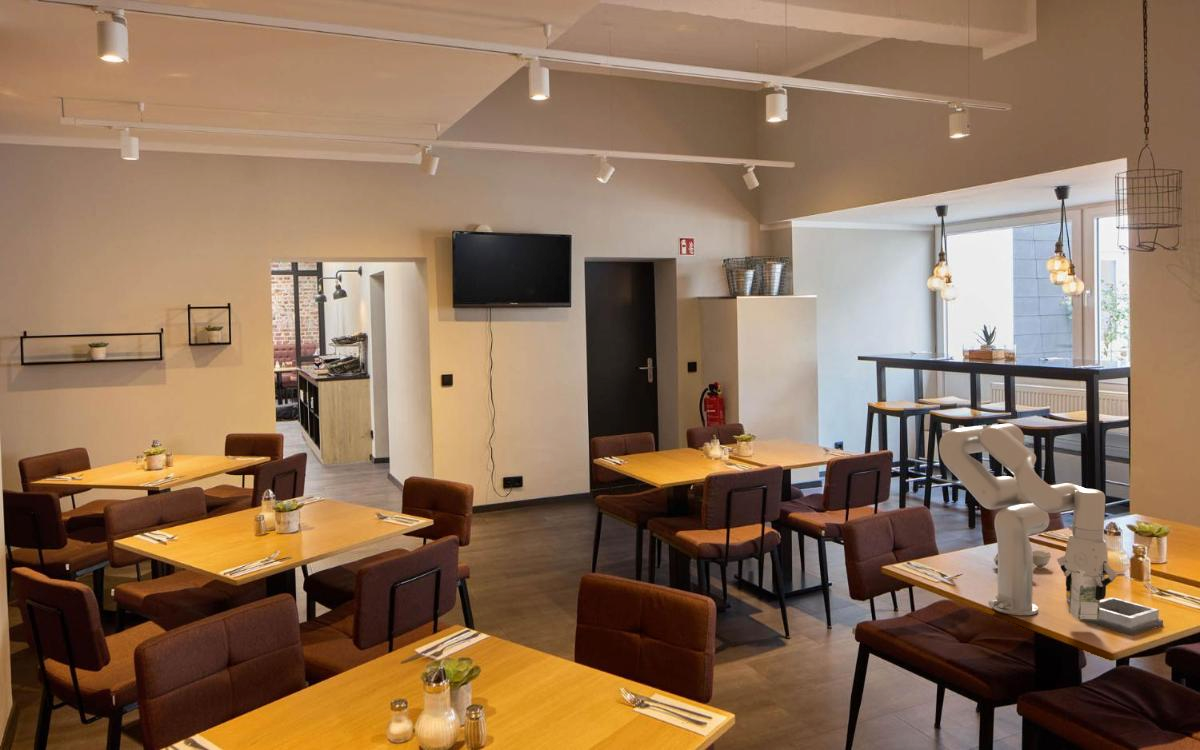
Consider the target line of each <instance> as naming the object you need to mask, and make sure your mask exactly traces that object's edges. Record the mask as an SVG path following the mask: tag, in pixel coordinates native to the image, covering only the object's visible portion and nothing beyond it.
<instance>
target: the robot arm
mask: <svg viewBox="0 0 1200 750" xmlns="http://www.w3.org/2000/svg"><path fill="white" fill-rule="evenodd" d="M1024 442H1025V434H1024V433H1023V431H1022V429H1021V428H1020V427H1019V426H1017V425H1016V424H1013V423H1001V424H989V425H974V426H965V427H957V428H953V429H951V430H948V431H946V432H944V434H943V435H942V436H941V438H940V439H939V443H938V449H939V450H938V451H939V456H940V459H941V461H942V462H943V464H944V466H946V468H947V469H948V470H949V471H950V472H951V473H952V474H953V475H954V476H955V477H956V478H957V479H958V480H959V482H961V484H962V485H963V487H965V488H966V490H967V491H969V494H971V495H972V496H973V497H974V498H975V500H976V501H977V502H978V503H979V504H980V506H982V507H983V508H985V509H986V510H987V509H988V510H998V509H999V511H998V512H997V513H996V514H995V518H994V531H995V534H996V541H997V553H998V566H997V568H998V569H997V594H996V595H995V598H994V599H992V600H989V601H988V602H987V603H988V606H989V607H990V608H993V610H995V611H996V612H1000V613H1003V614H1006V615H1014V616H1032V615H1033V616H1034V615H1036V614H1037V613H1038V612H1039V607H1038V606H1037V605H1036V604H1035V603H1033V590H1034V589H1033V586H1034V585H1033V583H1034V582H1033V579H1034V577H1033V574H1034V572H1033V553H1032V551H1033V548H1032V543H1031V541H1030V538H1029V536H1031V535H1035V534H1039V533H1042V532H1044V531H1046V529H1048V527H1049V525H1050V516H1049V514H1054V513H1060V512H1064V511H1071V510H1072V511H1073V517H1072V518H1073V519H1072V525H1068V530H1070V531H1072V532H1071V534H1070V535H1069V536H1068V539H1067V543H1066V548H1065V553H1064V554H1065V555H1063V556H1061V557H1058V558H1057V561H1056V562H1057V563H1058V565H1059V566H1060V569H1061V571H1062V572H1063V575H1064V577H1065V587H1066V588H1065V590H1067V591H1070V585H1071V572H1077V569H1078V568H1080V569H1082V570H1085V571H1086V575H1087V576H1090V577H1095V579H1096V581H1097V583H1098V586H1096V598H1095V599H1096V600H1103V599H1106V596H1107V594H1106V593H1107V592H1106V591H1107V586H1108V585H1110V584H1111V583H1112V582H1113V581H1114V580H1115V579H1116V578H1117V577H1118V573H1117V572H1116V571H1114V569H1113V568H1112V567H1110V565H1109V560H1108V559H1109V558H1108V549H1107V547H1108V546H1107V543H1106V540H1104V535H1105V534H1104V532H1105V531H1104V529H1105V515H1106V514H1105V511H1106V494H1105V493H1104V492H1103V491H1101V490H1099V489H1094V488H1085V487H1082V486H1080V485H1077V484H1074V483H1070V482H1069V483H1068V482H1065V483H1058V484H1051V485H1050V484H1048V483H1047V482H1046V481H1045V480H1043V479H1042V478H1041V477H1040V476H1039V475H1038V474H1037V473H1036V471H1035V469H1034V466H1035V464H1036V462H1037V456H1036V454H1035V453H1034V452H1033V451H1032V450H1031V449H1030V448H1028V447H1027V446H1026V445H1025V444H1024ZM984 452H987V453H988V454H989V455H991V456H992V457H993V459H995V460H996V461H997V462H999V464H1001V465H1003V467H1005V469H1007V470H1008V471H1009V472H1010V473H1011V474H1012V475H1013V477H1012V476H1009V475H1008V476H1007V475H1002V476H995V475H994V474H993V473H992V472H990V471H989V470H988V469H987V468H986V466H985V465H984V464H983V463H982V462H980V461H979V460H977V459H975V458H974V457H972V455H970V454H975V453H984ZM1101 573H1102V574H1101ZM1106 575H1108V576H1107V577H1106ZM1101 576H1102V577H1101ZM1100 577H1101V578H1100Z"/></svg>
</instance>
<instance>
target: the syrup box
mask: <svg viewBox="0 0 1200 750" xmlns="http://www.w3.org/2000/svg"><path fill="white" fill-rule="evenodd" d="M1101 574H1102V573H1101ZM1101 577H1102V576H1101ZM1101 577H1100V578H1101ZM1096 586H1098V583H1097V581H1096V579H1095V577H1090V576H1087V575H1086V571H1085V570H1082V569H1080V568H1078V569H1077V572H1071V585H1070V602H1068V603H1069V605H1068V612H1069V614H1070V615H1072V616H1073V617H1074V618H1076V620H1079V621H1082V620H1099V608H1100V600H1096V599H1095V598H1096Z"/></svg>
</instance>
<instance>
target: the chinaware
mask: <svg viewBox="0 0 1200 750" xmlns="http://www.w3.org/2000/svg"><path fill="white" fill-rule="evenodd" d="M1032 553H1033V573H1034V571H1035V569H1036V570H1037V569H1039V570H1042V568H1043V569H1044V567H1045V566H1046V565H1048V564H1049V562H1050V560H1051V557H1052V556H1053V553H1052V552H1046V551H1044V550H1040V549H1037V550H1032ZM993 562H994V564H995V565H996V566H997V567H996V568H997V570H998V552H997V553H996V555H995V556H994V557H993Z"/></svg>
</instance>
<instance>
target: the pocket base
mask: <svg viewBox="0 0 1200 750" xmlns="http://www.w3.org/2000/svg"><path fill="white" fill-rule="evenodd" d="M1159 610H1160V609H1158V608H1154V607H1150V606H1146V605H1144V604H1139V603H1136V602H1132V601H1128V600H1124V599H1120V598H1117V597H1113V596H1111V597H1107V598H1106V597H1105V598H1104V599H1101V600H1100V608H1099V620H1083V621H1082V622H1085V621H1086V623H1089V624H1093V625H1095V626H1100V627H1102V628H1106V629H1109V630H1112V631H1115V630H1116V632H1119V633H1122V632H1123V634H1125V633H1126V634H1125V635H1130V636H1135V634H1136V635H1138V633H1139V634H1142V633H1144V632H1143V631H1145V632H1148V631H1150V630H1149V629H1151V630H1153V629H1152V628H1154V629H1156V628H1155V627H1157V628H1160V627H1162V625H1163V626H1164V620H1163V619H1160V618H1159V617H1160V616H1159V613H1160V611H1159ZM1159 626H1160V627H1159ZM1147 630H1148V631H1147ZM1141 632H1142V633H1141Z"/></svg>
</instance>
